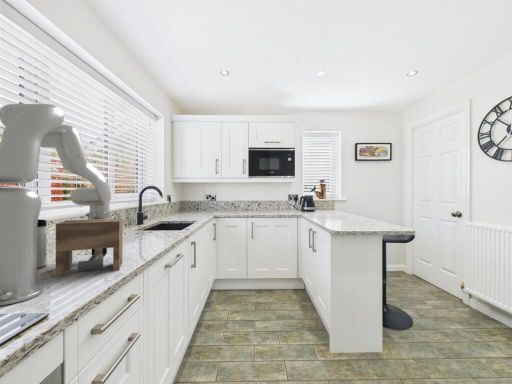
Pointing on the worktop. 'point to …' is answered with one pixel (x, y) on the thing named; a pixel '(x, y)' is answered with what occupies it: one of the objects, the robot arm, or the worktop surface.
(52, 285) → the worktop surface
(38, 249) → the travel mug
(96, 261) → the scraper
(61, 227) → the wooden step stool
